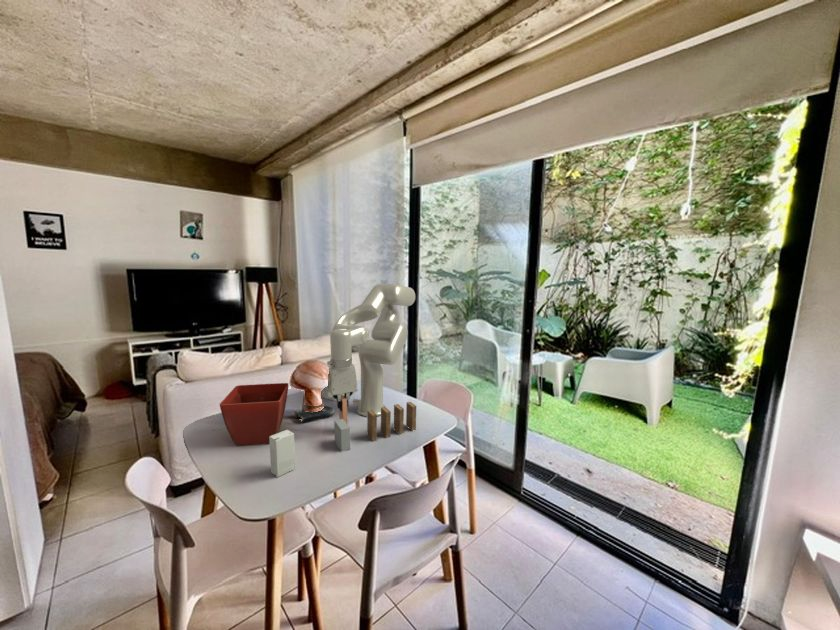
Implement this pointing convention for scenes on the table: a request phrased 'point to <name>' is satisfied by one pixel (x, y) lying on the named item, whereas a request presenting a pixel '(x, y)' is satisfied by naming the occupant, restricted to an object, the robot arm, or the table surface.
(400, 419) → the domino
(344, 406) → the domino end
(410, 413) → the domino
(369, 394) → the robot arm
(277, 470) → the skincare box
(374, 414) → the domino
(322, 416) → the electronic device
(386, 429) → the domino
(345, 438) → the block
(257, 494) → the table surface
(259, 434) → the plant pot
